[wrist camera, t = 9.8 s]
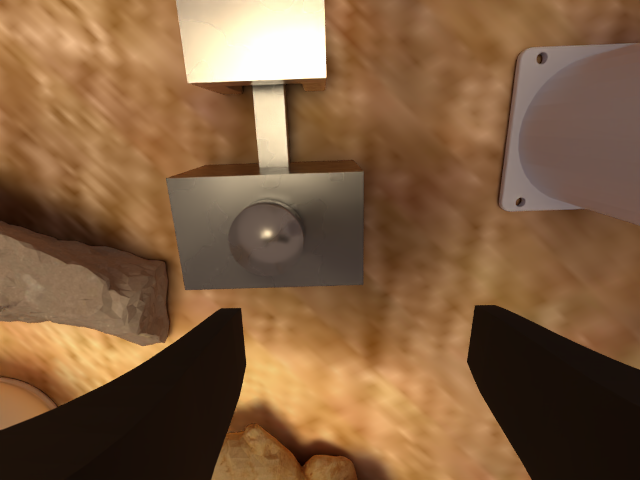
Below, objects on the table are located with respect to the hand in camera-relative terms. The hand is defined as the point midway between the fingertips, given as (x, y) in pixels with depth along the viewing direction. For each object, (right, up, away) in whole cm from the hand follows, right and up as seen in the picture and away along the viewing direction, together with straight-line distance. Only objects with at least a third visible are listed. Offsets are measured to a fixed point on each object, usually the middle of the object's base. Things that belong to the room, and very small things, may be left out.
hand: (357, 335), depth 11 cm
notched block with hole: (-4, +13, +6) cm, 15 cm away
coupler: (-3, +9, +7) cm, 12 cm away
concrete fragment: (-16, +2, +10) cm, 19 cm away
